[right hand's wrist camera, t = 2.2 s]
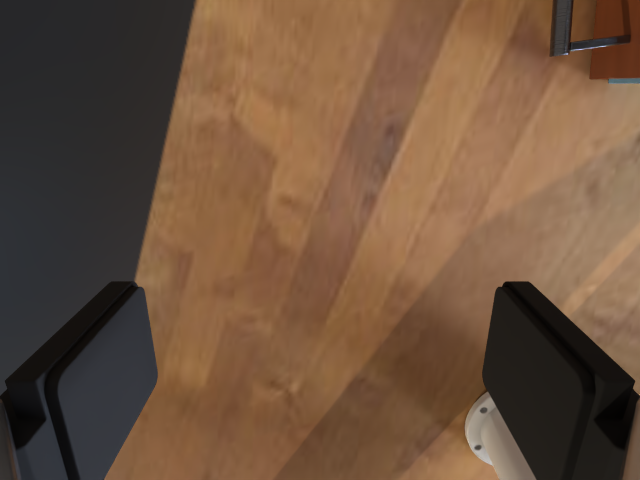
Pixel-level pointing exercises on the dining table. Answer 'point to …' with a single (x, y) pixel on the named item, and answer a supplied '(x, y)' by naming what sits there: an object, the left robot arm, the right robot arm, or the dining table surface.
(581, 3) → the dining table surface
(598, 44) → the drawer
